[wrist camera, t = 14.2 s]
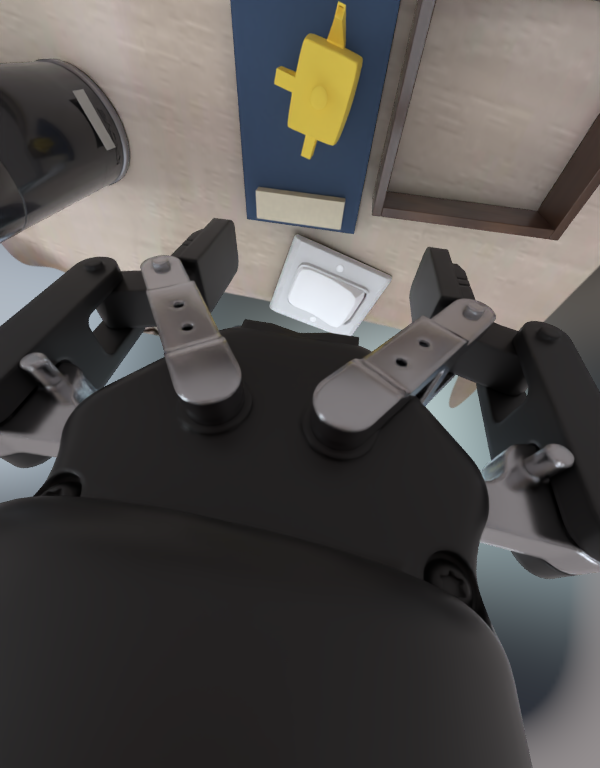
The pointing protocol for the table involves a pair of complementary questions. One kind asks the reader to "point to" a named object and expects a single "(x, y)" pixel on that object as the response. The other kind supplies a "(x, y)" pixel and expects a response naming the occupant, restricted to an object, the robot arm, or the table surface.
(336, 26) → the teapot
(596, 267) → the table surface
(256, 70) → the bed mat
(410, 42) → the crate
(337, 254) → the light switch
